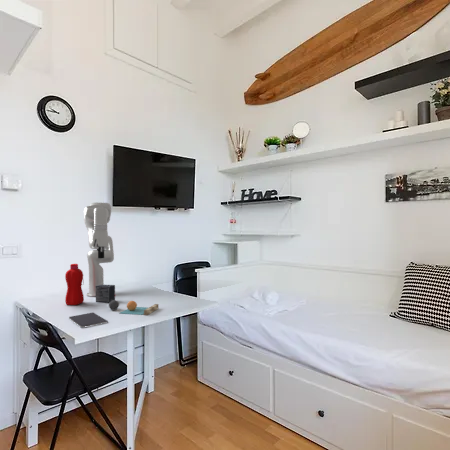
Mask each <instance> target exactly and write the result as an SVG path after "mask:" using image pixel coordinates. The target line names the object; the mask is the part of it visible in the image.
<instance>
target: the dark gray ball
mask: <svg viewBox="0 0 450 450" xmlns="http://www.w3.org/2000/svg"><path fill="white" fill-rule="evenodd" d="M119 306H120V303H119V301H118V300H116V299H115V300H112V301H111V302H110V303H108V307H109V309H110V310H112V311H113V310H117V309H118V308H119Z"/></svg>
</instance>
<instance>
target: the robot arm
mask: <svg viewBox="0 0 450 450" xmlns="http://www.w3.org/2000/svg"><path fill="white" fill-rule="evenodd" d="M111 216H112V206H111V204H110V203H108V202H92V203H91V204H89V205H87V206H85V208H84V210H83V221H84V225H85V227H86V230H87V232H88V246H89V248H90V249H91V250H89V251H88V252H87V254H86V257H87V262H88V263H87V264H88V292H87V293H86V296H87V297H96V286H98V285H105V284H104V268H103V266H101V264H105V263H106V264H108V263H112V262H113V261H114V260H115V256H114V255H115V254H114V253H115V252H114V243H113V238H112V236H110V235H109V232H108V223H109V222H110V221H111Z"/></svg>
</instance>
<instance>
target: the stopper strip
mask: <svg viewBox="0 0 450 450" xmlns="http://www.w3.org/2000/svg"><path fill="white" fill-rule="evenodd" d="M158 309H159V304H158V303H155V304H153V305H151V306H149V307H148V308H147V309H146V310H144V314H143V316H149V315H150V314H152V313H153V312H155V311H157V310H158Z"/></svg>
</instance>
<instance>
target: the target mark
mask: <svg viewBox="0 0 450 450" xmlns="http://www.w3.org/2000/svg"><path fill="white" fill-rule="evenodd" d="M147 308H149V307H147V306H146V307H144V306H143V307H142V306H137V307H136V309H135V310H132V311H131V310H128V308H126V309H125V310H123V311H120V312H119V314H123V315H136V316H137V315H140V316H144V310H146V309H147Z"/></svg>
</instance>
